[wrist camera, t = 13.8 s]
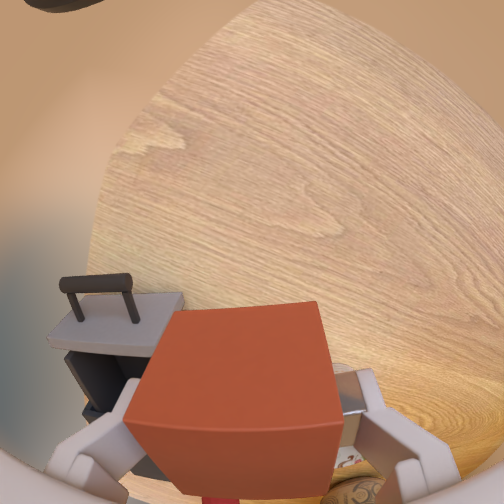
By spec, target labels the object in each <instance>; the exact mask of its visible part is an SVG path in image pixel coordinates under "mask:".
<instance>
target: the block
mask: <svg viewBox="0 0 504 504" xmlns="http://www.w3.org/2000/svg"><path fill="white" fill-rule="evenodd" d="M122 420H123V423H124V424H125V425H126V427H127V428H128V430H129V431H130V432H131V434H132V435H133V436H134V438H135V439H136V440H137V442H138V443H139V444H140V446H141V447H142V448H143V449H144V451H145V452H146V453H147V454H148V456H149V457H150V458H151V459H152V461H153V462H154V463H155V464H156V465H157V466H158V468H159V469H160V470H161V471H162V472H163V473H164V474H165V476H166V477H167V478H168V479H169V480H170V481H171V482H172V483H173V484H174V485H175V487H176V488H177V489H178V490H179V491H180V492H181V493H182V494H185V495H192V496H201V497H210V498H223V499H245V500H271V499H293V498H306V497H315V496H324V495H327V493H328V490H329V486H330V483H331V479H332V475H333V471H334V467H335V463H336V459H337V455H338V450H339V446H340V441H341V437H342V432H343V427H344V416H343V412H342V407H341V402H340V397H339V393H338V388H337V383H336V379H335V375H334V370H333V366H332V361H331V357H330V353H329V349H328V345H327V340H326V336H325V332H324V328H323V324H322V320H321V316H320V313H319V309H318V305H317V302H316V301H310V302H300V303H290V304H279V305H267V306H254V307H240V308H225V309H207V310H186V311H175V312H174V313H173V315H172V317H171V319H170V321H169V323H168V325H167V327H166V329H165V331H164V333H163V335H162V337H161V339H160V341H159V343H158V345H157V347H156V349H155V351H154V353H153V355H152V357H151V359H150V361H149V363H148V365H147V367H146V369H145V371H144V373H143V375H142V377H141V380H140V382H139V384H138V386H137V388H136V390H135V392H134V394H133V396H132V399H131V401H130V403H129V405H128V407H127V409H126V412H125V414H124V416H123V419H122Z"/></svg>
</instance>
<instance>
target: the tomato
mask: <svg viewBox="0 0 504 504" xmlns="http://www.w3.org/2000/svg"><path fill="white" fill-rule="evenodd" d="M202 504H240V503H239V499H223V498H210V497H202Z"/></svg>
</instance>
